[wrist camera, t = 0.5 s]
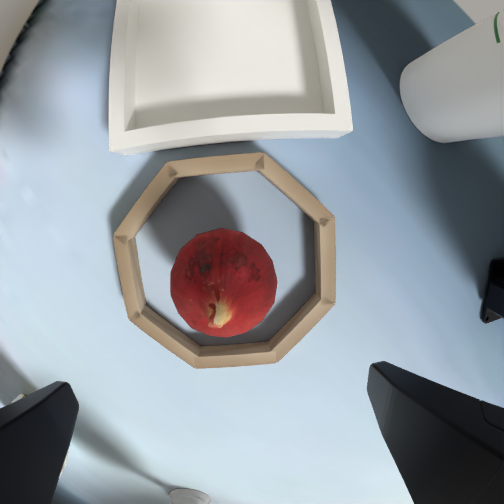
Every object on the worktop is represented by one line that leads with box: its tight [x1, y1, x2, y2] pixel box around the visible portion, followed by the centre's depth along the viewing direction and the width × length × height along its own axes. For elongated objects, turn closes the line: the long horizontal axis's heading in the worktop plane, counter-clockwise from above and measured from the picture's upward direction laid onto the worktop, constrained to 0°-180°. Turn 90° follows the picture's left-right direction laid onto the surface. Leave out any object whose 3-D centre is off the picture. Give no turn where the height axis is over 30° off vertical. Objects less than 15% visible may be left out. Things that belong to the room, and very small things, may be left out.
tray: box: [109, 0, 353, 156], centre depth 15 cm, size 14×14×3 cm
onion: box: [170, 228, 277, 337], centre depth 16 cm, size 6×6×8 cm
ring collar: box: [113, 152, 336, 369], centre depth 19 cm, size 14×14×2 cm
